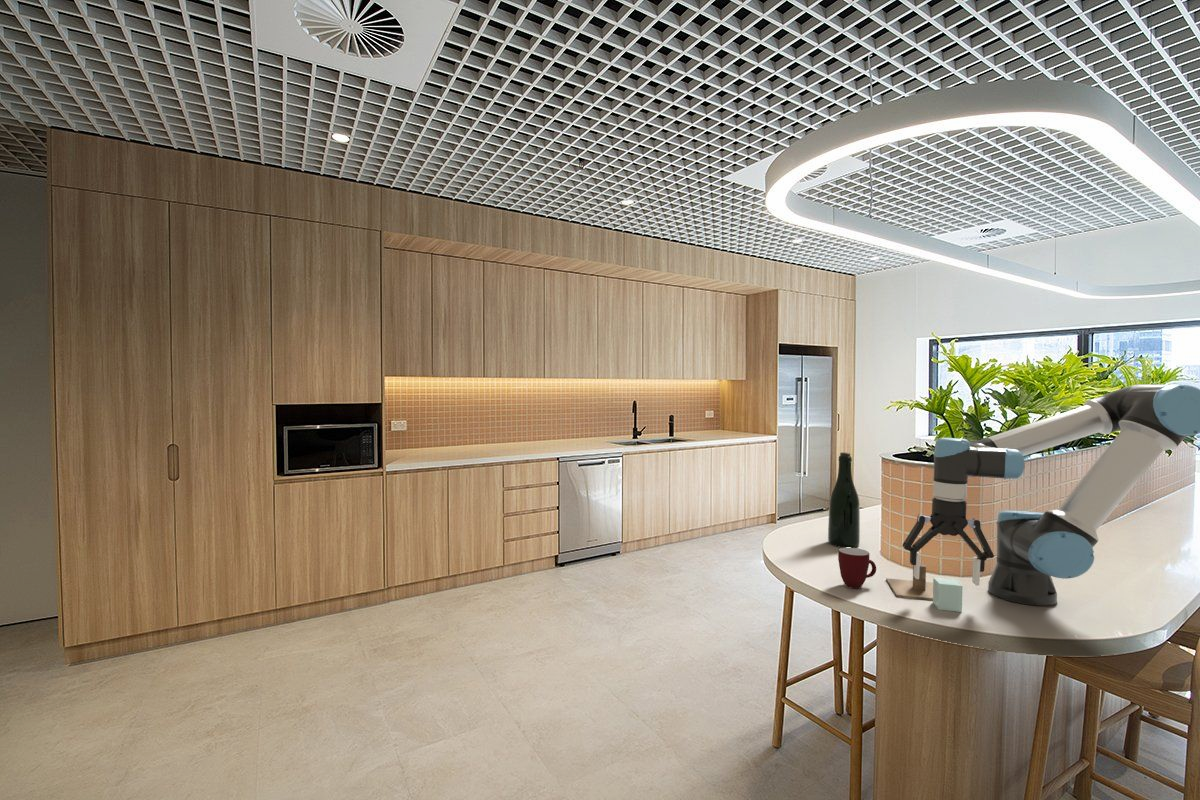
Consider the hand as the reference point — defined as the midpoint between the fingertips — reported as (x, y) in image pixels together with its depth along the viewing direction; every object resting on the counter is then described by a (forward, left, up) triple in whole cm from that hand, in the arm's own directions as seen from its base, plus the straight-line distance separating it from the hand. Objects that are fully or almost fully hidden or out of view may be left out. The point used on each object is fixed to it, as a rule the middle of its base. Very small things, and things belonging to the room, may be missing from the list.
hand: (945, 580), depth 149 cm
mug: (+20, -10, -7) cm, 23 cm away
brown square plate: (+4, -11, -7) cm, 13 cm away
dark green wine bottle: (+18, -56, -7) cm, 59 cm away
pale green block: (0, 0, -7) cm, 7 cm away
